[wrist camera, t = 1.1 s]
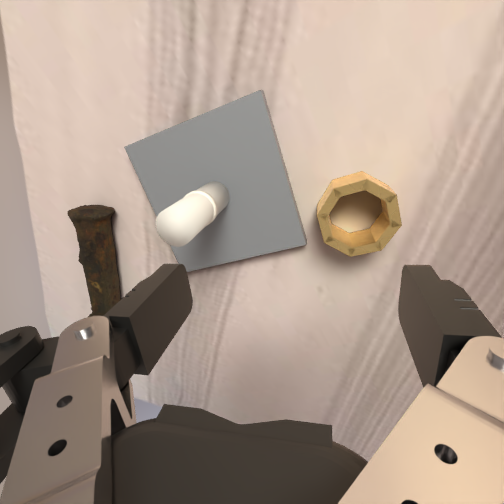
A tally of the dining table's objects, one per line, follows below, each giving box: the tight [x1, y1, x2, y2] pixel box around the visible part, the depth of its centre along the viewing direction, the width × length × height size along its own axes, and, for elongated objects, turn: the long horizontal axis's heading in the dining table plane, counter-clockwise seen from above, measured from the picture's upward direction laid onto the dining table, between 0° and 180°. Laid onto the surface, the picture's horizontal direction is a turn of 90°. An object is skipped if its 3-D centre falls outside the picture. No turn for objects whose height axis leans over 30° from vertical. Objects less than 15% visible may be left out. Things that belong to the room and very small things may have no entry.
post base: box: [125, 90, 307, 272], centre depth 25 cm, size 14×14×10 cm
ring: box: [317, 171, 402, 257], centre depth 26 cm, size 6×6×4 cm
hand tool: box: [68, 205, 121, 317], centre depth 35 cm, size 19×4×5 cm, turn 173°
